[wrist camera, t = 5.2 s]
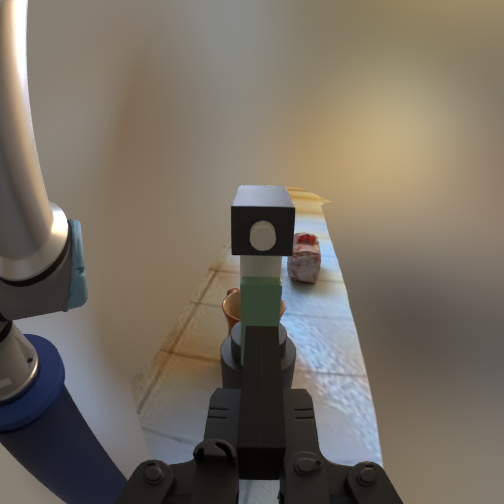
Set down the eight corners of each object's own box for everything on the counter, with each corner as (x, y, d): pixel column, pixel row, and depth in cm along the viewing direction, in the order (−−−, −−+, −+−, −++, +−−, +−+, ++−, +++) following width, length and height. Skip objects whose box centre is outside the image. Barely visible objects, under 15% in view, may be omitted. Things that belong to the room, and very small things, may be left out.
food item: (320, 287, 66) (325, 246, 63) (285, 285, 67) (288, 244, 64) (316, 262, 79) (319, 227, 75) (286, 260, 80) (288, 225, 76)
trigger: (276, 366, 21) (282, 285, 19) (241, 365, 21) (240, 284, 19) (275, 356, 22) (280, 276, 20) (241, 355, 22) (241, 275, 20)
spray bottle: (285, 471, 26) (329, 213, 15) (222, 470, 26) (196, 211, 15) (282, 409, 35) (304, 183, 24) (229, 408, 35) (220, 181, 24)
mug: (291, 365, 43) (298, 310, 39) (240, 385, 39) (239, 329, 35) (253, 325, 53) (254, 275, 49) (208, 339, 49) (204, 286, 45)
